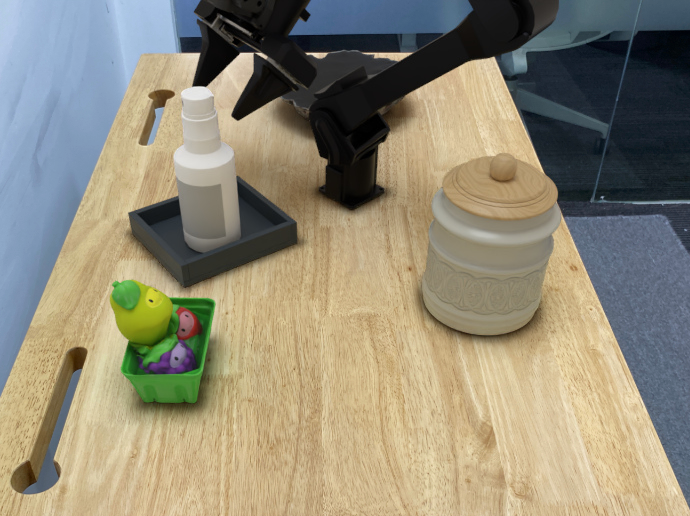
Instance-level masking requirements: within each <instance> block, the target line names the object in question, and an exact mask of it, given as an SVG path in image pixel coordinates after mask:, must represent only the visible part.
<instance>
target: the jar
mask: <svg viewBox="0 0 690 516" xmlns="http://www.w3.org/2000/svg"><path fill="white" fill-rule="evenodd" d="M558 197H559V190H558V188H557V186H556V183H555V182H554V181H553V179H551V178H550V177H549V176H547V174H545V173H544V172H542V171H541V170H540V169H539V168H537V167H536V166H534V165H533V164H531V163H529V162H527V161H524V160H521V159H518V158H516V157H515V156H514V155H513V154H511V153H509V152H500V153H498V154H495V155H488V156H480V157H476V158H473V159H471V160H468V161H466V162H463V163H461V164H458V165H456V166H454V167H452V168H451V169H449V171H447V172H446V174H445V175H444V177H443V179H442V182H441V187H440V188H439V189H438V190H437V191H436V192H435V193H434V194H433V197H432V199H431V203H430V207H431V213H432V215H433V217H434V218H433V219H432V220H431V222H430V224H429V225H428V231H427V237H428V243H427V251H426V259H425V260H426V261H425V269H424V270H423V273H422V277H421V278H422V280H421V291H422V298H423V304H424V306H425V308H426V309H427V311H428V312H429V313H430V314H431V315H432V317H434V318H435V319H436V320H437V321H439V322H440V323H442V324H443V325H445V326H447V327H449V328H451V329H453V330H456V331H458V332H462V333H467V334H471V335H477V336H479V335H480V336H497V335H505V334H508V333H512V332H514V331H517V330H519V329H521V328H523V327H524V326H526V325H527V324H528V323H529V322H530V321H531V320H532V319H533V317H534V315H535V313H536V311H537V310H538V308H539V306H540V303H541V299H542V295H543V285H544V281H545V277H546V273H547V269H548V265H549V260H550V257H551V256H552V254H553V252H554V248H555V240H554V237H553V234H554V233H555V232H556V231H557V229H558V228H559V227H560V224H561V222H562V211H561V207H560V206H559V204H558V203H557V202H558V201H557V200H558Z"/></svg>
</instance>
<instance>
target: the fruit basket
mask: <svg viewBox="0 0 690 516" xmlns="http://www.w3.org/2000/svg"><path fill="white" fill-rule="evenodd" d="M111 286H112V287H113V289H112V291H111V292H110V295H109V304H110V308H111V309H112V311H113V314H114V320H115V324H116V326H117V329H118V332H120V334H121V335H122V336H123V337H124V338H125V339H126V340H127V345H126V348H125V352H124V355H123V358H122V360H121V365H120V372H121V374H122V375H123V377H125V378H126V379H127V380H128V381H129V382H130V384H131V386H133V388H134V390H135V391H136V392H137V394H138V396H139V397H140V398H141V400H142V401H143V402H144V403H152V402H153V403H154V402H156V403H163V404H180V403H184V402H185V403H188V404H195V403H197V400H198V395H199V390H200V384H201V379H202V376H203V373H204V367H205V362H206V356H207V352H208V348H209V342H210V337H211V333H212V326H213V320H214V315H215V310H216V304H217V303H216V301H215V300H214V299H213V298H210V297H185V296H184V297H181V296H180V297H179V296H178V297H177V296H175V297H173V296H168V295H167V294H166V293H164V292H163V291H161V290H159V289H158V288H155V287H153V286H152V285H151V286H150V285H147V284H145V283H143V282H141V281H138V280H136V279H125V280H122V281H121V282H120V281H119V280H115V281H113V282H112V284H111Z"/></svg>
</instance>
